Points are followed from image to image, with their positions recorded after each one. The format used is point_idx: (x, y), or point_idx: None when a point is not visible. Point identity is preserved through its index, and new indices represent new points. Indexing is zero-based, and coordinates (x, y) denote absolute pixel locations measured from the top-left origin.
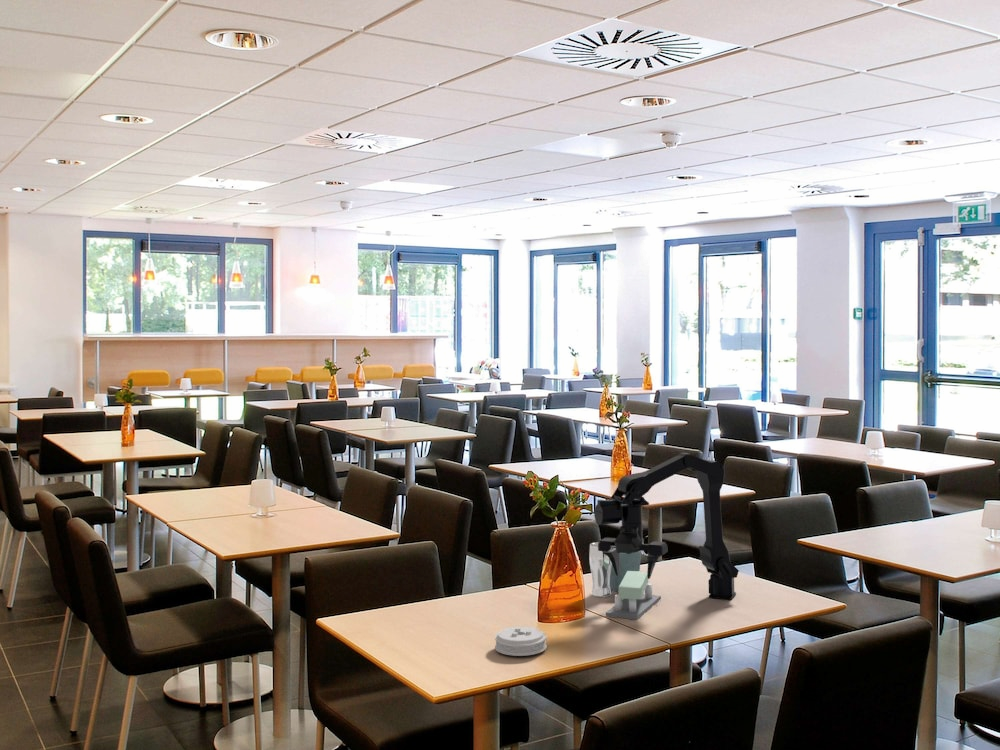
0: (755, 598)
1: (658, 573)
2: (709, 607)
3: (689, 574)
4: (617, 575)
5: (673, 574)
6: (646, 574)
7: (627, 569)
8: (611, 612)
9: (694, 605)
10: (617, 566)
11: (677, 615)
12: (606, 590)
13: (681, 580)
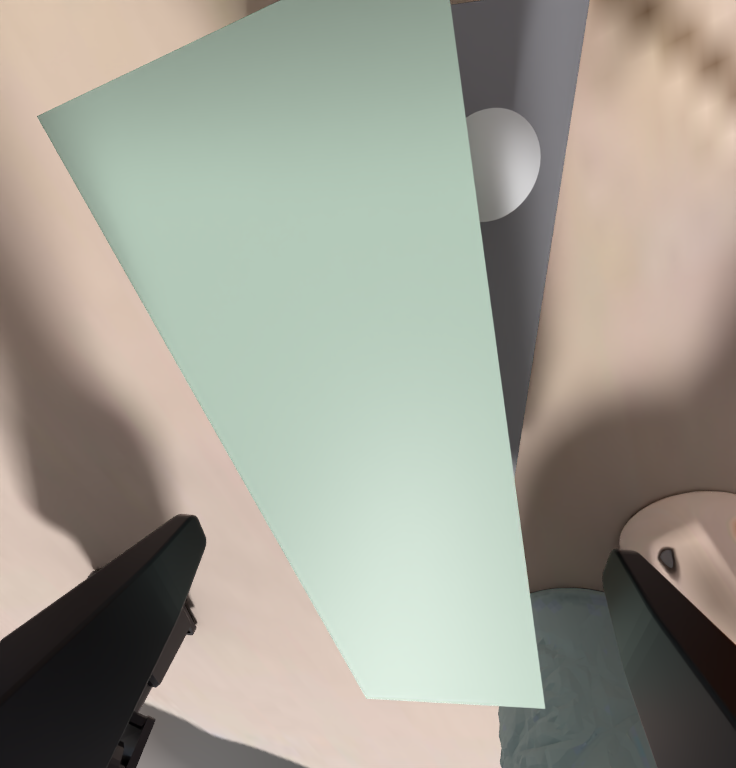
0: (52, 594)
1: (474, 752)
2: (84, 477)
3: (370, 743)
4: (618, 550)
5: (419, 744)
6: (342, 650)
7: (569, 746)
8: (522, 22)
9: (152, 486)
10: (687, 724)
11: (101, 305)
12: (674, 541)
13: (367, 706)
